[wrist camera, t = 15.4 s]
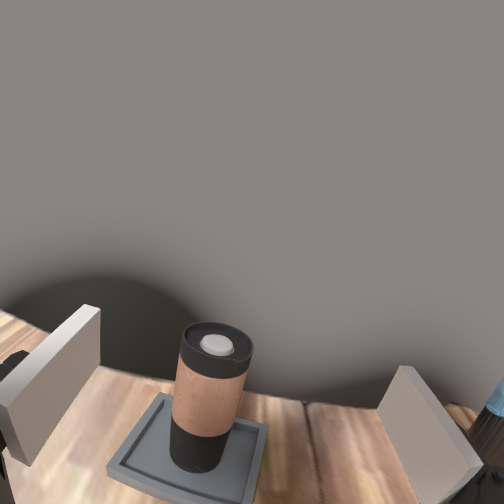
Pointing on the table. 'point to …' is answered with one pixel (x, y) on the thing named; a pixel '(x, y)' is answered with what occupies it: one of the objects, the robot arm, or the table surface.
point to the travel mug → (207, 393)
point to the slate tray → (182, 482)
